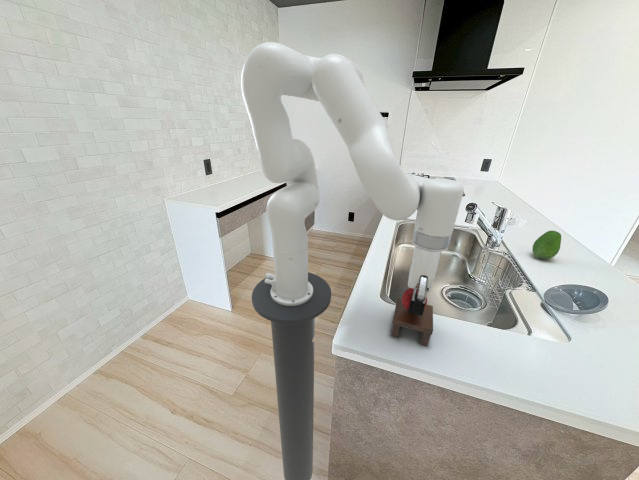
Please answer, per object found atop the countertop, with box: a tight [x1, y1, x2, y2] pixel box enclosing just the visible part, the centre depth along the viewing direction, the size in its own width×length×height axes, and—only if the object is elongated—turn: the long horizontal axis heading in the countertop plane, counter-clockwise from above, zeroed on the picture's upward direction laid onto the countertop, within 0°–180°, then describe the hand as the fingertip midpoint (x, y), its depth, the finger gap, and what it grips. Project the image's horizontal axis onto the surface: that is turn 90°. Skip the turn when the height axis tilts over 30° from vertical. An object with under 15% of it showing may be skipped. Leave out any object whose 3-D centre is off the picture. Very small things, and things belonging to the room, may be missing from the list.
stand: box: [390, 297, 434, 347], centre depth 66 cm, size 9×9×6 cm
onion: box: [401, 285, 428, 310], centre depth 63 cm, size 6×6×8 cm
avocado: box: [531, 230, 562, 261], centre depth 99 cm, size 8×8×12 cm
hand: (415, 302), depth 63 cm, fingers open, 7 cm apart
